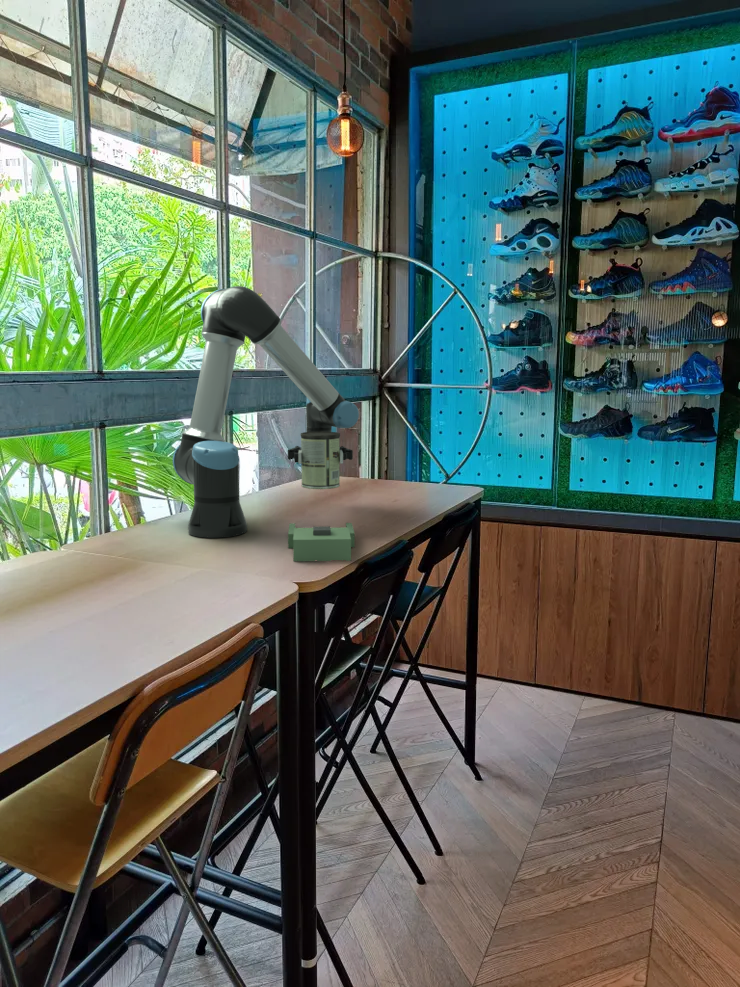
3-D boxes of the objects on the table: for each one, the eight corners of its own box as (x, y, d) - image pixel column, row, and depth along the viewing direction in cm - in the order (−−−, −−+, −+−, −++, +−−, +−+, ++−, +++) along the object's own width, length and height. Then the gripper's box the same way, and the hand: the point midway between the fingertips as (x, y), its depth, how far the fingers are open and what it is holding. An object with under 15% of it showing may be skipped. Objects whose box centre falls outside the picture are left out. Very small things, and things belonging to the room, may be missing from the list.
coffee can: (304, 482, 201) (304, 430, 199) (342, 483, 200) (342, 431, 198) (297, 488, 191) (297, 434, 189) (336, 490, 190) (337, 435, 188)
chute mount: (286, 561, 166) (286, 534, 165) (289, 536, 190) (289, 513, 189) (357, 560, 168) (357, 533, 167) (351, 536, 191) (351, 512, 190)
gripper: (358, 461, 214) (364, 472, 192) (280, 461, 212) (276, 472, 190) (358, 435, 212) (364, 443, 191) (279, 435, 211) (276, 443, 189)
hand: (320, 458), depth 190 cm, fingers closed on coffee can, 10 cm apart
